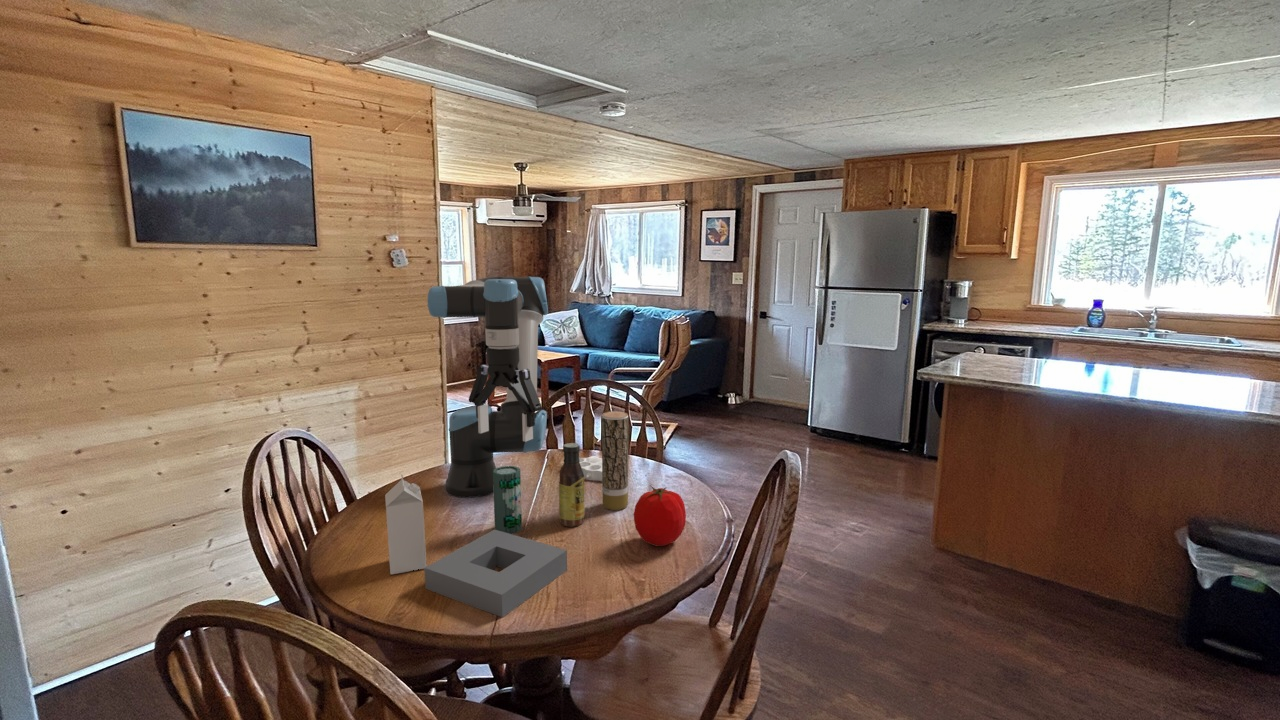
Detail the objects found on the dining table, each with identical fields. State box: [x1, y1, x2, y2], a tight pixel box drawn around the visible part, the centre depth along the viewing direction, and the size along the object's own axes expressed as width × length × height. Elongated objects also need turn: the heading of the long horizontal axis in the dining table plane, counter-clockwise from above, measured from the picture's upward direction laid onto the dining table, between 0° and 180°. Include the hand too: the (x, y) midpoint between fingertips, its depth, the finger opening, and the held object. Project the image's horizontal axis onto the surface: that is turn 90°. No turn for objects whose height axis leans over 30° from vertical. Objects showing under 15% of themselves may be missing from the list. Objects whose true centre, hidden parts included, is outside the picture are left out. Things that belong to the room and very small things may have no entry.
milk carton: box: [384, 474, 427, 575], centre depth 130 cm, size 7×7×19 cm
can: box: [493, 465, 523, 535], centre depth 147 cm, size 6×6×15 cm
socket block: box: [423, 529, 568, 618], centre depth 125 cm, size 20×20×4 cm
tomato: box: [633, 485, 687, 547], centre depth 141 cm, size 12×12×13 cm
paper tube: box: [601, 410, 629, 511], centre depth 161 cm, size 7×7×25 cm
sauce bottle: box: [558, 442, 585, 527], centre depth 151 cm, size 6×6×20 cm
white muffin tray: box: [579, 455, 602, 482], centre depth 188 cm, size 3×18×15 cm
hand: (505, 436), depth 145 cm, fingers open, 13 cm apart
